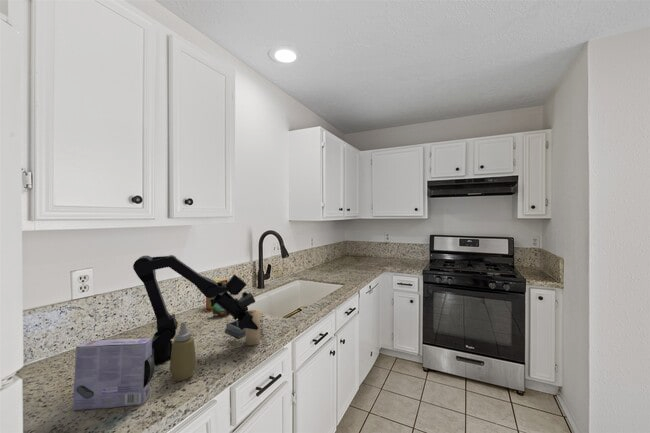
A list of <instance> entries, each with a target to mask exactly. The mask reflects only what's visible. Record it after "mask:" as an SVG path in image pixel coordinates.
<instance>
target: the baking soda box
mask: <svg viewBox="0 0 650 433" xmlns="http://www.w3.org/2000/svg"><path fill="white" fill-rule="evenodd" d="M213 280H214V281H216V282H217V283H225V284H226V283H227V282H228V279H225V278H215V279H213ZM213 298H214V297H213ZM210 303H211V301H210V298H207V297H206V296H205V309H206V310H208V311H212V312H213V310H212V307H211V304H210Z"/></svg>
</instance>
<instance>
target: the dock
mask: <svg viewBox="0 0 650 433" xmlns="http://www.w3.org/2000/svg"><path fill="white" fill-rule="evenodd" d="M237 320H238V319H236V320H234V321H231V322H228V323H226V324H225V325H226V326H225V327H226V328H224V333H227V334H229V335H232V336H234V337H236V338H238V339H241V338H243V337H245V328H243V329H242V330H241V329H240V328H239V327H238V326H237Z"/></svg>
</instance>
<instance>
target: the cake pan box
mask: <svg viewBox="0 0 650 433" xmlns="http://www.w3.org/2000/svg"><path fill="white" fill-rule="evenodd" d="M152 339H153V337H152V338H151V337H149V338H128V339H127V338H122V339H101V340H100V339H99V340H97V339H96V340H95V339H93V340H91V339H90V340H85V341H83V342H81V343H80V344H78V345H76V347H75V358H74V359H75V360H74V361H75V362H74V377H73V378H74V380H73V382H74V383H73V400H72V401H73V402H72V411H74V412H75V411H80V410H92V409H99V410H101V409H113V408H118V407H126V406H143V405H144V404H145V403H146V401H147V400H148V399H149V398H150V396H151V382H152V379H153V376H154V373H155V366H156V365H155V364H154V359H153V356H152Z"/></svg>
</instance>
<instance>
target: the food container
mask: <svg viewBox="0 0 650 433" xmlns="http://www.w3.org/2000/svg"><path fill="white" fill-rule="evenodd" d="M229 294H230V295H231V296H232V297H233V298H234V296H233V295H232V294H231V293H229ZM212 310H213V311H212V317H213V318H224V317H227V316H229V315H230V314H227V313H226V311H225V310H224V309H223V308H221V307H220V306H219V305H218V304H216V303H215V305H214V306H213V307H212ZM230 316H231V315H230Z"/></svg>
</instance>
